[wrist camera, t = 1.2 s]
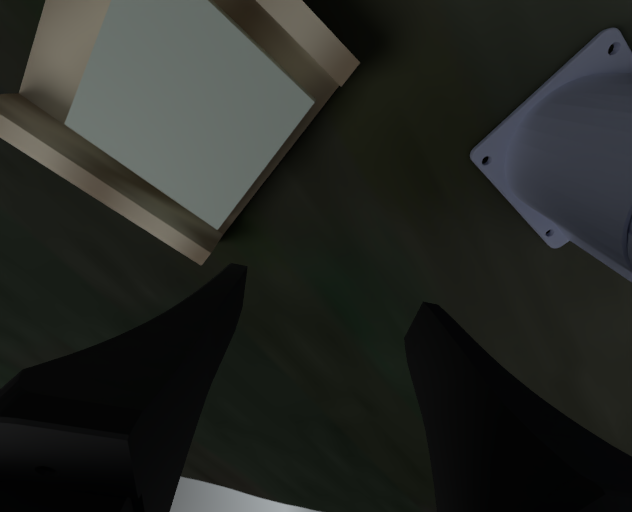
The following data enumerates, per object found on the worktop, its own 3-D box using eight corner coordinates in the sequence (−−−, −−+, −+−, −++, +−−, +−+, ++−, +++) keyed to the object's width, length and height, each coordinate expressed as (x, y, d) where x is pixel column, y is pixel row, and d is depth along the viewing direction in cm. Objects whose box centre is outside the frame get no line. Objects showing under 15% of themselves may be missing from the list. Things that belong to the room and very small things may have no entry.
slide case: (354, 64, 16) (360, 62, 13) (216, 242, 21) (201, 265, 19) (112, -193, 12) (52, -269, 9) (21, 110, 17) (-32, 117, 15)
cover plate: (316, 99, 16) (314, 102, 14) (227, 216, 20) (217, 230, 18) (161, -49, 13) (136, -68, 12) (90, 119, 17) (64, 124, 15)
